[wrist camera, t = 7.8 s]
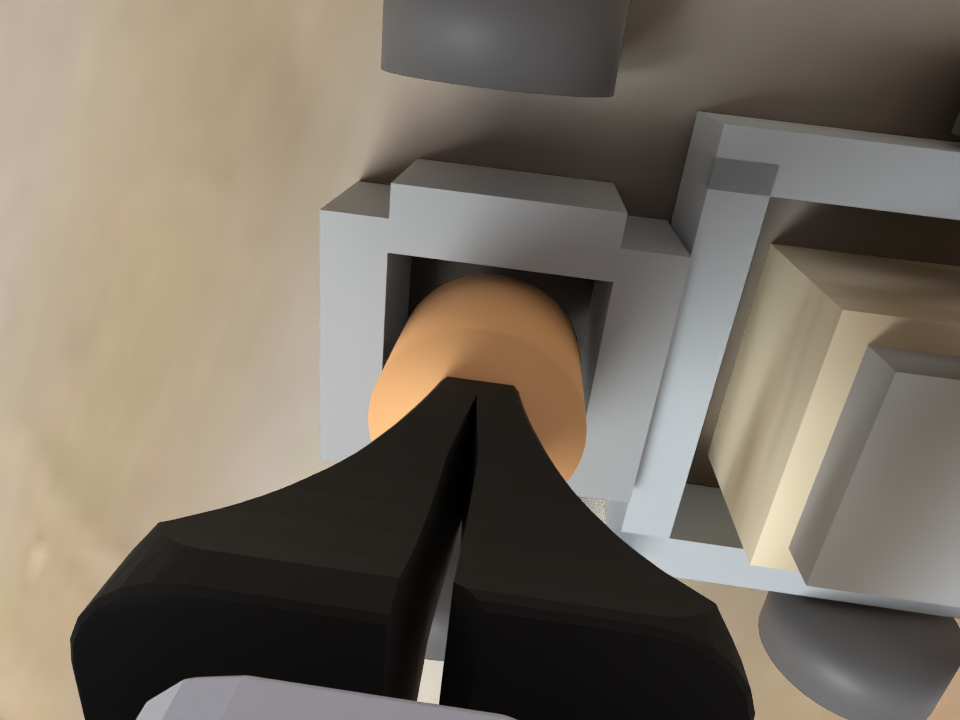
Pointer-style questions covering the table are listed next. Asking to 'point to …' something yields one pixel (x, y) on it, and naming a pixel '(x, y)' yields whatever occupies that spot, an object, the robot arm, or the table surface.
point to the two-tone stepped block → (848, 424)
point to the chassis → (632, 315)
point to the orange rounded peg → (491, 358)
